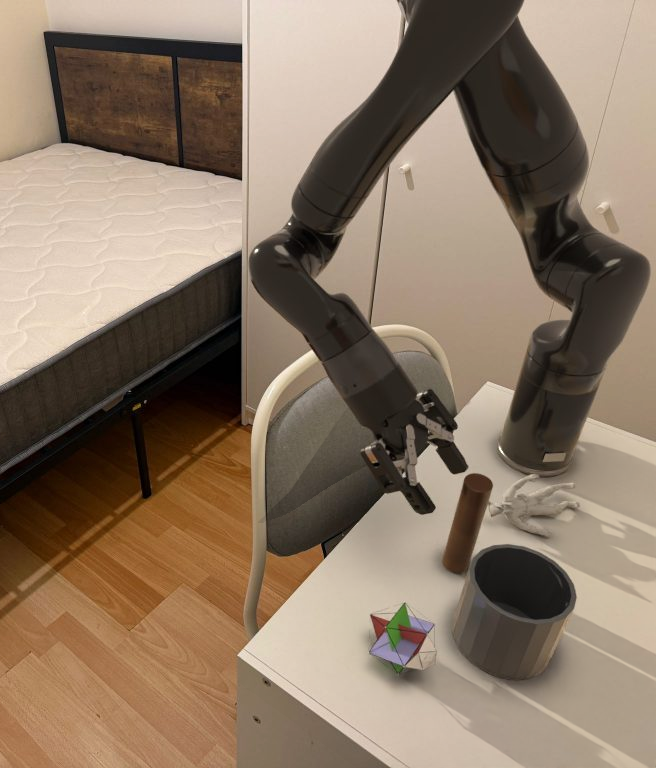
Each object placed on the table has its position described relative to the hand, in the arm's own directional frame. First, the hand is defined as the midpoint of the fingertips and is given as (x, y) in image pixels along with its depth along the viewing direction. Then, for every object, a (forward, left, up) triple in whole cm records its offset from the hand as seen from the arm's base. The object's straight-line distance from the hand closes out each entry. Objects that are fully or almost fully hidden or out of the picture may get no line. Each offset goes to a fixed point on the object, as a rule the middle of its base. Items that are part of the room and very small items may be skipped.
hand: (445, 491), depth 85 cm
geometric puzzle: (+16, +1, -11) cm, 20 cm away
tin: (+8, +10, -11) cm, 17 cm away
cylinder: (0, +3, -11) cm, 11 cm away
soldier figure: (-13, +9, -11) cm, 19 cm away
